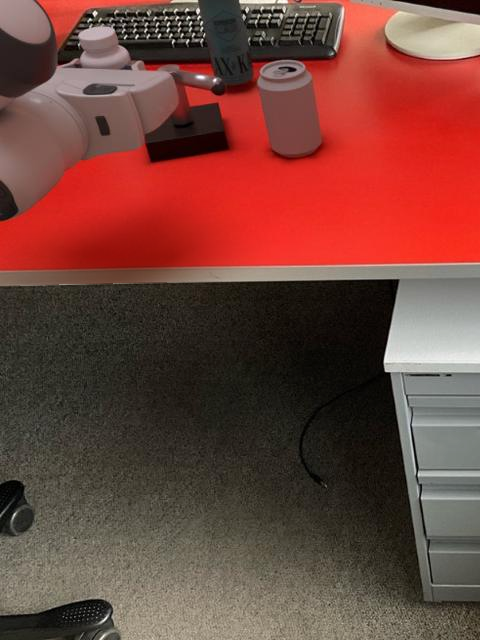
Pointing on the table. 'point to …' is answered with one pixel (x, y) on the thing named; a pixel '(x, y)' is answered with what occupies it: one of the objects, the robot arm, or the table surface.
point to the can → (289, 108)
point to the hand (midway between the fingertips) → (112, 65)
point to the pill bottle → (102, 49)
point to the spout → (196, 81)
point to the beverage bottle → (227, 40)
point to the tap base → (188, 135)
